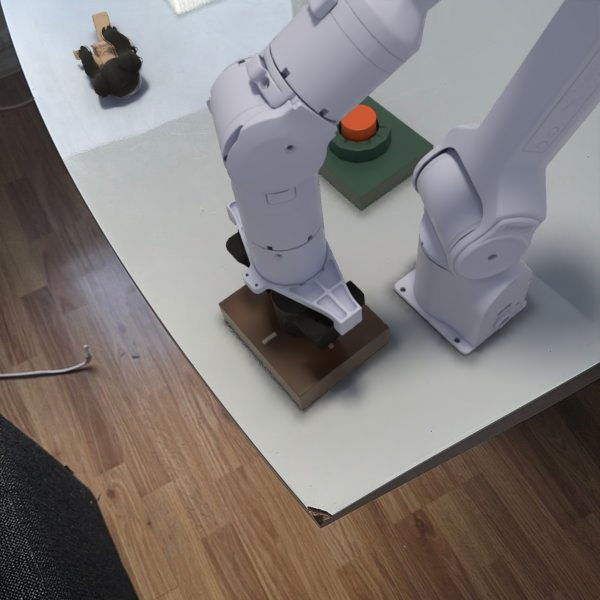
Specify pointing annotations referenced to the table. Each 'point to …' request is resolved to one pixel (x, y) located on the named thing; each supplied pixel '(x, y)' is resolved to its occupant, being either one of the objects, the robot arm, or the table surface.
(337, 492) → the table surface
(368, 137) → the button
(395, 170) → the button box
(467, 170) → the robot arm
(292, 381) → the panel
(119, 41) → the toy figure
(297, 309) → the knob
